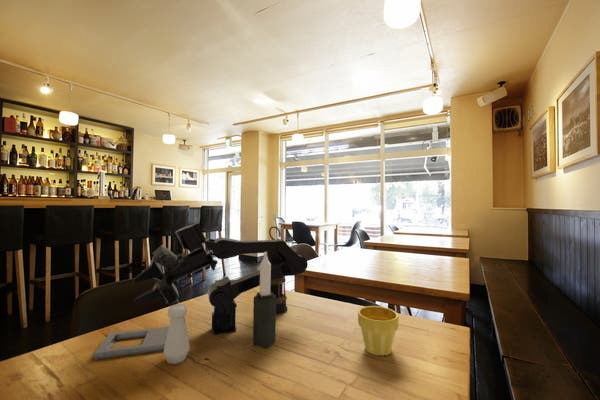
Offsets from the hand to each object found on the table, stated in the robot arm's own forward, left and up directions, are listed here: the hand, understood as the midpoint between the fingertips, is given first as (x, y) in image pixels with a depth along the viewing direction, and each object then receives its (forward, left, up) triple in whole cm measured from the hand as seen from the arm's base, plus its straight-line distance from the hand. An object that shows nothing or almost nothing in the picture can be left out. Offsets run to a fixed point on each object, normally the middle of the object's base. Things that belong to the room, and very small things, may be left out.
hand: (134, 290), depth 76 cm
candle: (-34, +10, -14) cm, 38 cm away
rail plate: (-3, +1, -14) cm, 14 cm away
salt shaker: (-12, +12, -14) cm, 22 cm away
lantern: (-42, -12, -14) cm, 46 cm away
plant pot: (-62, +22, -14) cm, 67 cm away
